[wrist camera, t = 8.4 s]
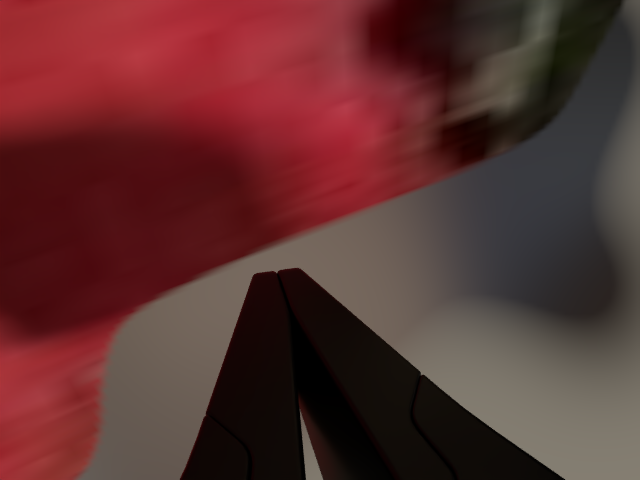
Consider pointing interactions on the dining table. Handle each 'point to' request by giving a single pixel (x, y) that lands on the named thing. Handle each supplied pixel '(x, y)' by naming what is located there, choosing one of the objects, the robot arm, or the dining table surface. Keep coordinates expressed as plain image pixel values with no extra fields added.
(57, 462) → the dining table surface
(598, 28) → the dining table surface
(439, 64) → the dining table surface
